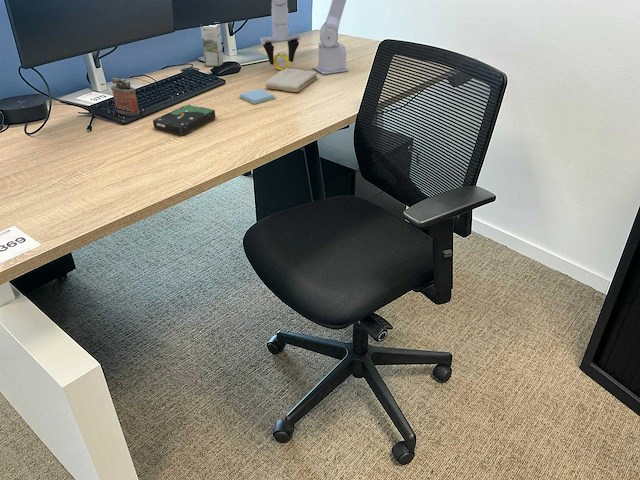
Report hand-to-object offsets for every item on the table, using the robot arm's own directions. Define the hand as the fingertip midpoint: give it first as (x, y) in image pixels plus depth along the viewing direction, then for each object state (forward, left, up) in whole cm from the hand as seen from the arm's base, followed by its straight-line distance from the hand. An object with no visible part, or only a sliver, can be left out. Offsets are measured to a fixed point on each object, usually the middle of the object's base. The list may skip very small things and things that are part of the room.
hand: (281, 62), depth 192 cm
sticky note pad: (+19, +24, -3) cm, 31 cm away
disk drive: (+45, +35, -3) cm, 57 cm away
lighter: (+58, +19, -3) cm, 61 cm away
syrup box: (+20, -17, -3) cm, 26 cm away
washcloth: (+3, +16, -3) cm, 16 cm away
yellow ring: (0, 0, -3) cm, 3 cm away
